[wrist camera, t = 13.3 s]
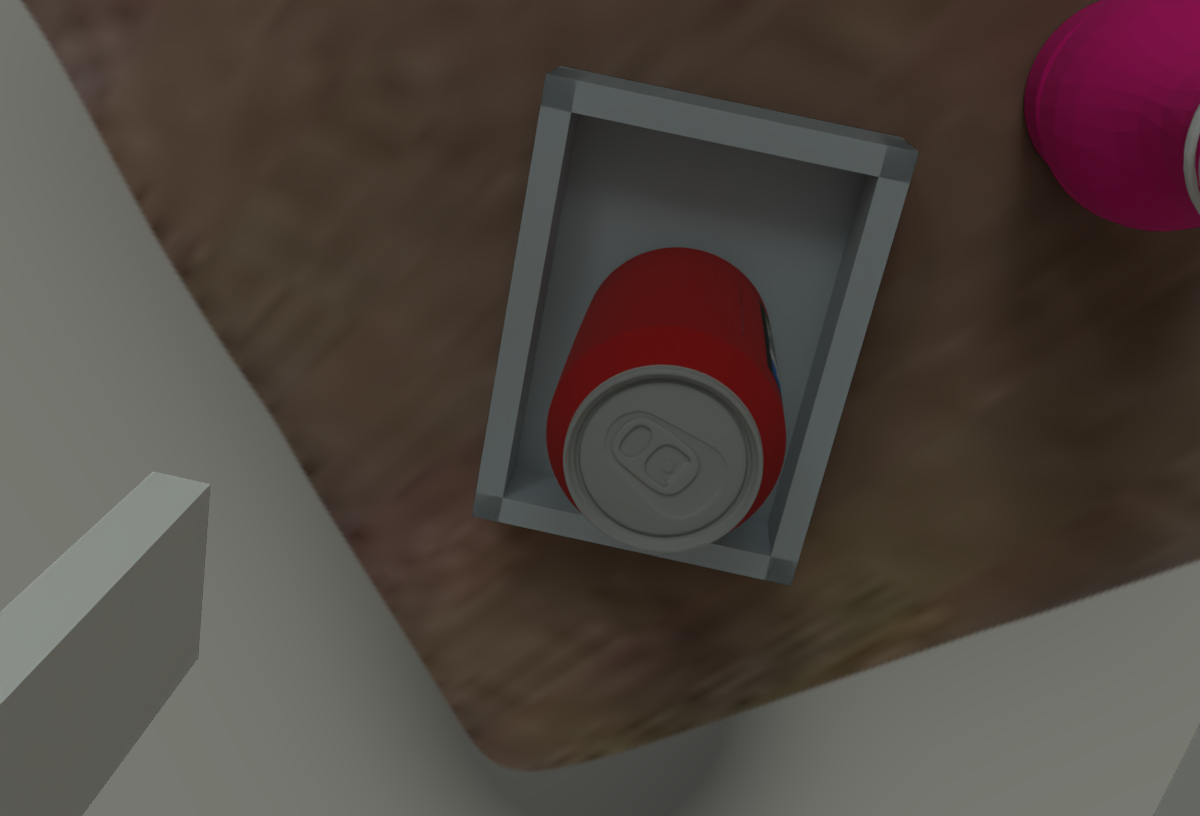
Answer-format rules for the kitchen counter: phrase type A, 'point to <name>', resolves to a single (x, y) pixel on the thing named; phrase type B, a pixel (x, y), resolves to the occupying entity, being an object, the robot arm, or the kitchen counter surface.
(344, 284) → the kitchen counter surface
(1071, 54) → the pepper mill
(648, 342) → the beverage can
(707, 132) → the tray
